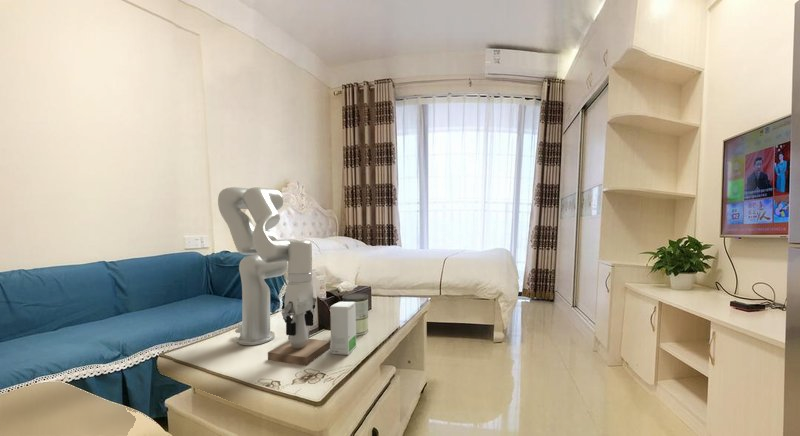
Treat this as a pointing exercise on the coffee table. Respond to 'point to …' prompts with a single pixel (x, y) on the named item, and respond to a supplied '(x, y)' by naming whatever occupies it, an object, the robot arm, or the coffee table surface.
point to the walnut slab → (299, 352)
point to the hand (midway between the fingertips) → (300, 330)
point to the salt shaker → (299, 332)
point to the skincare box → (343, 328)
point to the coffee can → (359, 311)
